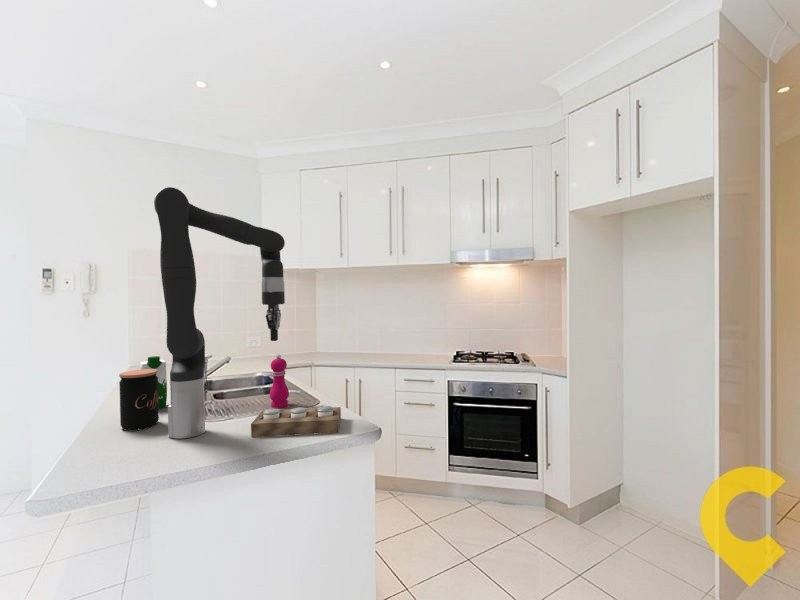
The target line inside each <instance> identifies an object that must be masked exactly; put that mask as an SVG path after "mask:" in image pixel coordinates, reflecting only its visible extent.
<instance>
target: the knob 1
mask: <svg viewBox="0 0 800 600" xmlns="http://www.w3.org/2000/svg"><path fill="white" fill-rule="evenodd" d="M279 410H280V408H269V409H265V410H262V411H263V414H264V419H279V412H280V411H279Z"/></svg>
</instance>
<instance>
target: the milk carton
mask: <svg viewBox="0 0 800 600" xmlns="http://www.w3.org/2000/svg"><path fill="white" fill-rule="evenodd" d="M160 357H161V356H159V355H158V356H154V355H153V356H148V357H147V361H140V362H139V370H143V369H155V370H158V372H157V374H156V376H157V377H158V405H159V410H160V409H166V408H167V398H168V385H167V384H168V383H167V381H168V379H167V378H168V377H167V375H168V374H167V362H166V361H165V360H164V359H161V358H160Z"/></svg>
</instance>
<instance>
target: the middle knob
mask: <svg viewBox="0 0 800 600" xmlns="http://www.w3.org/2000/svg"><path fill="white" fill-rule="evenodd" d="M290 409H291V418H300V417H306V409H307V407H294V408H290Z"/></svg>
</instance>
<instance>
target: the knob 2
mask: <svg viewBox="0 0 800 600" xmlns="http://www.w3.org/2000/svg"><path fill="white" fill-rule="evenodd" d="M333 407H334V406H333ZM333 407H332V406H328V405H327V406H325V405H324V406H320V407H317V408H318V417H321V416H333Z"/></svg>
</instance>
